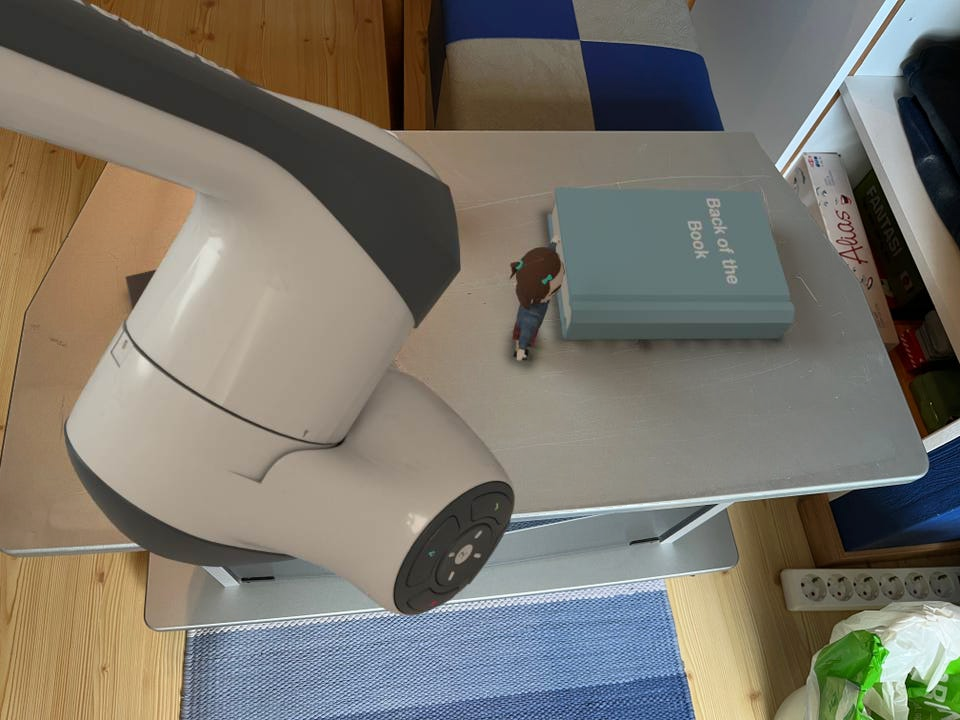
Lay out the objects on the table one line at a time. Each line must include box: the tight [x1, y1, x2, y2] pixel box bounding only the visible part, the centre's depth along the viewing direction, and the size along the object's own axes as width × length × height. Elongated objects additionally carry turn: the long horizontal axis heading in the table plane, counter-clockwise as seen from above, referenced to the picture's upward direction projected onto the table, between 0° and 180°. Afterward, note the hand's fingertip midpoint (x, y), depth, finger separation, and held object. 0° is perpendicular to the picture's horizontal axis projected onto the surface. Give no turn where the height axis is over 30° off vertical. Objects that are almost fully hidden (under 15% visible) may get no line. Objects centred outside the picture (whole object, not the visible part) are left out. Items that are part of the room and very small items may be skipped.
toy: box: [509, 235, 565, 362], centre depth 68 cm, size 14×5×15 cm, turn 164°
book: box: [546, 187, 795, 340], centre depth 78 cm, size 23×16×5 cm
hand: (220, 291), depth 52 cm, fingers open, 8 cm apart
